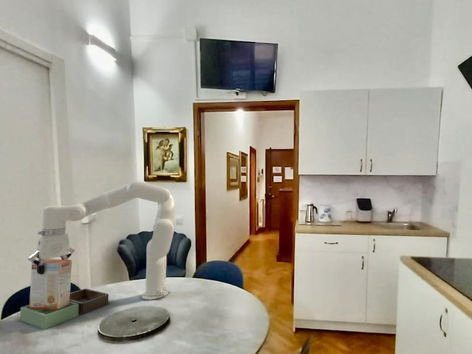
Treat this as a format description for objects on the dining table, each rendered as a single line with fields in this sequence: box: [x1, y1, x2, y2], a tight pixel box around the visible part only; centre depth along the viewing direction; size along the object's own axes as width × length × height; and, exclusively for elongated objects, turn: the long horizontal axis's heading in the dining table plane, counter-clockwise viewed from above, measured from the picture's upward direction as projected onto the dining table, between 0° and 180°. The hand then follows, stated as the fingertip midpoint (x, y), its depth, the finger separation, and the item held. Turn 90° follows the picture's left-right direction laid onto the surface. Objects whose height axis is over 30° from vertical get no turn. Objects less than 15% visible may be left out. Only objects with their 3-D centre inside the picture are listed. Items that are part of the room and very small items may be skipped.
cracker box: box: [28, 258, 73, 310], centre depth 114 cm, size 14×6×21 cm, turn 84°
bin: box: [19, 302, 79, 330], centre depth 114 cm, size 20×12×6 cm, turn 70°
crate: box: [70, 288, 110, 315], centre depth 126 cm, size 20×12×5 cm, turn 70°
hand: (51, 271), depth 115 cm, fingers closed on cracker box, 6 cm apart
